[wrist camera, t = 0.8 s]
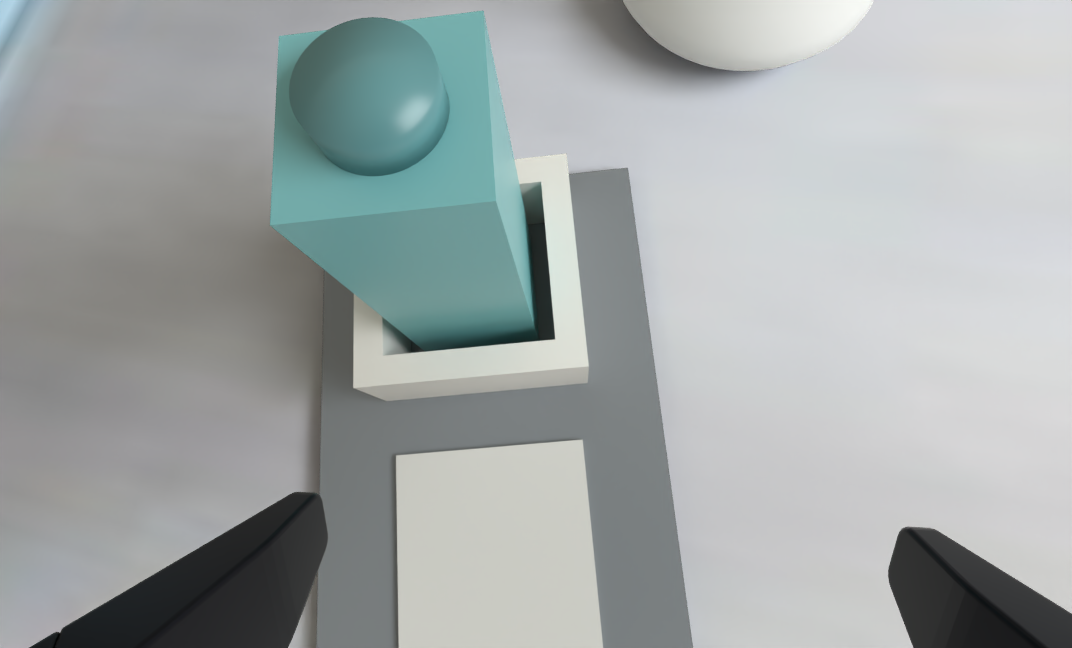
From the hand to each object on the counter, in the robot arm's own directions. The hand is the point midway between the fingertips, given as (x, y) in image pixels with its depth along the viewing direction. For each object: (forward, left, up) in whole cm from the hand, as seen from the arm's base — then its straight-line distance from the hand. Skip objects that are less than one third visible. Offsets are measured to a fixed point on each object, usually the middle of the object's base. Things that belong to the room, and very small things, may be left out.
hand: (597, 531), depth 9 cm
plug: (+4, +8, -12) cm, 15 cm away
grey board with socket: (0, +5, -13) cm, 14 cm away
